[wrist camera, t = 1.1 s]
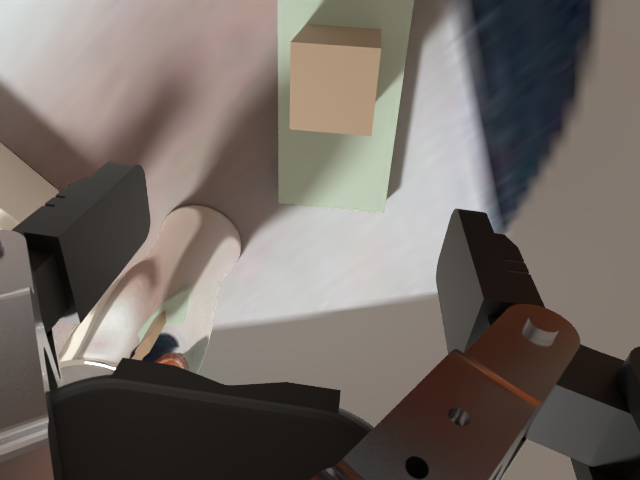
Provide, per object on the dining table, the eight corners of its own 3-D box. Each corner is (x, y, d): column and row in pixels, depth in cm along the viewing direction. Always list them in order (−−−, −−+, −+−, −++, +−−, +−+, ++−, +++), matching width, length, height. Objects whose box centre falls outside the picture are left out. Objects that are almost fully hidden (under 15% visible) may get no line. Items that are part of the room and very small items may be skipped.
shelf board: (284, -141, 23) (251, -168, 17) (429, -135, 22) (447, -160, 16) (283, 189, 33) (262, 245, 27) (384, 198, 32) (384, 257, 26)
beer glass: (140, 207, 34) (3, 365, 22) (228, 190, 33) (134, 349, 20) (179, 282, 38) (80, 454, 25) (260, 269, 36) (197, 447, 24)
